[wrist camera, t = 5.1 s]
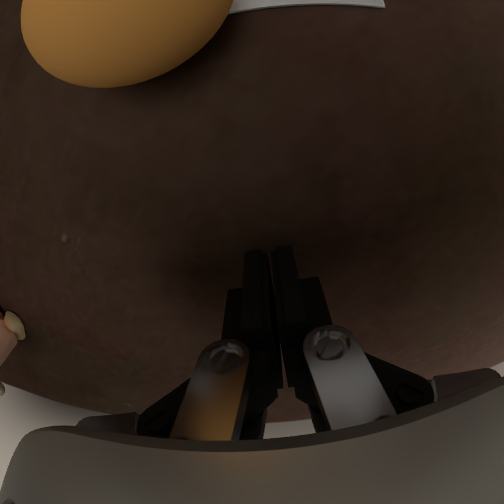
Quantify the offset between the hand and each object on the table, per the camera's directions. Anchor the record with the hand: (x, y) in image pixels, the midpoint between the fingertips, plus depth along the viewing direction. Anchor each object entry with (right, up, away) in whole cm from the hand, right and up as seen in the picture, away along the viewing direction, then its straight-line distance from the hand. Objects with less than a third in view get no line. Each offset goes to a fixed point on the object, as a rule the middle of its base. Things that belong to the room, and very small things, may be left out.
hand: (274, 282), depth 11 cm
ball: (-4, +8, -6) cm, 11 cm away
